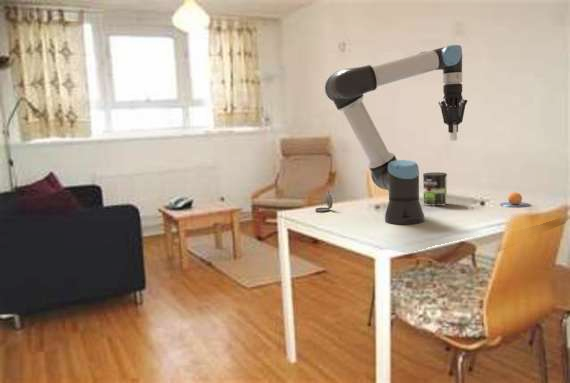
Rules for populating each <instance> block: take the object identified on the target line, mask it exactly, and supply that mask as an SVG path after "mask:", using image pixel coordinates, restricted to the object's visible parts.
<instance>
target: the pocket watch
mask: <svg viewBox="0 0 570 383" xmlns="http://www.w3.org/2000/svg"><path fill="white" fill-rule="evenodd" d="M327 192H328V193H327V195H326V205H327V207H317V208H315V209H314V211H316V212H317V213H318V212H319V213H325V212H328V211H330V210H331V209H332V208H333V197H332V195H331V194H330V192H331V190H330V188H328V190H327Z"/></svg>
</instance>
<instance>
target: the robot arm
mask: <svg viewBox="0 0 570 383" xmlns="http://www.w3.org/2000/svg"><path fill="white" fill-rule="evenodd" d="M440 70H441V71H442V73H443V74H442V75H443V76H442V79H443V80H442V84H443V86H442V87H443V94H444V96H443V99H441V101H438V106H440V110H441V115H442V119H443V123H444V125H445V124H446V125H447V126H448V129H447V130H448V133H449V141H457V140H458V138H457V137H458V134H457V133H458V132H459V125H461V123H463V120H464V114H465V109H466V105H467V103H468V100H467V99H464V98H463V95H462V93H463V84H462V83H463V50H462V46H461V45H460V44H450V45H446V46H443V47H439V48H436V49H435V48H434V49H432V50H429V51H419V52H417V54H415V55H410V56H407V57H403V58H400V59H396V60H393V61H389V62H385V63H381V64H378V65H375V66H374V65H371V64H368V65H363V66H359V67H350V68H345V69H341V70H337V71H334V72H333V73H332V74H330V75H329V76H328V77H327V79H326V81H325V83H324V92H325V94H326V96H327V98H328V99H329V100H331V101H332V102H333V104H334V105H335V107H336V109H337V110H338V111H340V112H342V113H343V114H344V117H345V118H346V119H347V121H348V123H349V125H350V127H351V129H352V131H353V133H354V134H355V137H356V138H357V140H358V143H359V144H360V146H361V147H362V150H363V151H364V153H365V155H366V158H367V159H368V161H369V164H368V168H369V170H370V176H371V180H372V182H373V184H375V186H377V187H378V188H380V189H381V190H386V191H388V204H387V207H386V211H385V214H384V222H386V223H388V224H393V225H395V224H396V225H414V224H415V225H416V224H420V223H423V222H424V221H425V213H424V212H423V208H422V204H421V203H420V202H421V201H420V171H419V169H420V168H419V165H418V163H416V162H415V161H414V160H406V159H401V160H400V159H397V157H396V155H395V154H394V153H392V152H390V151H389V149H388V148H387V146H386V144H385V142H384V141H383V138H382V136H381V135H380V133H379V131H378V130H377V129H378V128H377V126H376V125H375V123H374V122H373V119H372V117H371V115H370V114H369V111H368V110H367V108H366V105H364V103H363V100H364V95H365V94H367V93H370V92H373V91H376V90H377V89H378V87H380V86H384V85H388V84H390V83H394V82H398V81H401V80H402V81H403V80H405V79H409V78H411V77H415V76H418V75H423V74H425V73H429V72H433V71H440Z"/></svg>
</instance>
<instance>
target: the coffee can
mask: <svg viewBox="0 0 570 383" xmlns="http://www.w3.org/2000/svg"><path fill="white" fill-rule="evenodd" d="M422 176H423V205H424V204H427V205H444V204H447V202H448V201H447V196H448V195H447V193H448V192H447V190H448V189H447V177H448V174H447V173H446V172H436V171H435V172H425V173H423V174H422ZM444 206H445V205H444Z"/></svg>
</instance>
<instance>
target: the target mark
mask: <svg viewBox="0 0 570 383" xmlns="http://www.w3.org/2000/svg"><path fill="white" fill-rule="evenodd" d="M531 205H532V204H531V203H528V202H524V201H523V202H522V201H521V203H520V204H518V205H512V204H511V203H509V201H506V202H500V203H499V206H501V207H505V208H528V207H530V206H531Z"/></svg>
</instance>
